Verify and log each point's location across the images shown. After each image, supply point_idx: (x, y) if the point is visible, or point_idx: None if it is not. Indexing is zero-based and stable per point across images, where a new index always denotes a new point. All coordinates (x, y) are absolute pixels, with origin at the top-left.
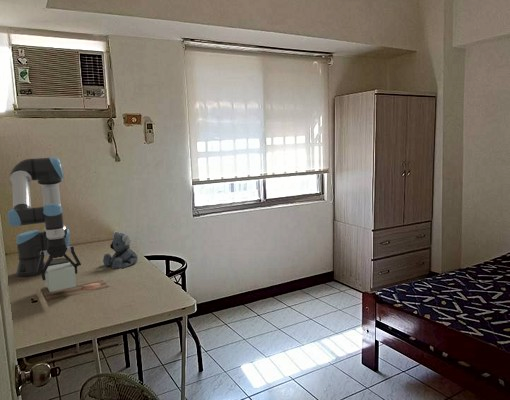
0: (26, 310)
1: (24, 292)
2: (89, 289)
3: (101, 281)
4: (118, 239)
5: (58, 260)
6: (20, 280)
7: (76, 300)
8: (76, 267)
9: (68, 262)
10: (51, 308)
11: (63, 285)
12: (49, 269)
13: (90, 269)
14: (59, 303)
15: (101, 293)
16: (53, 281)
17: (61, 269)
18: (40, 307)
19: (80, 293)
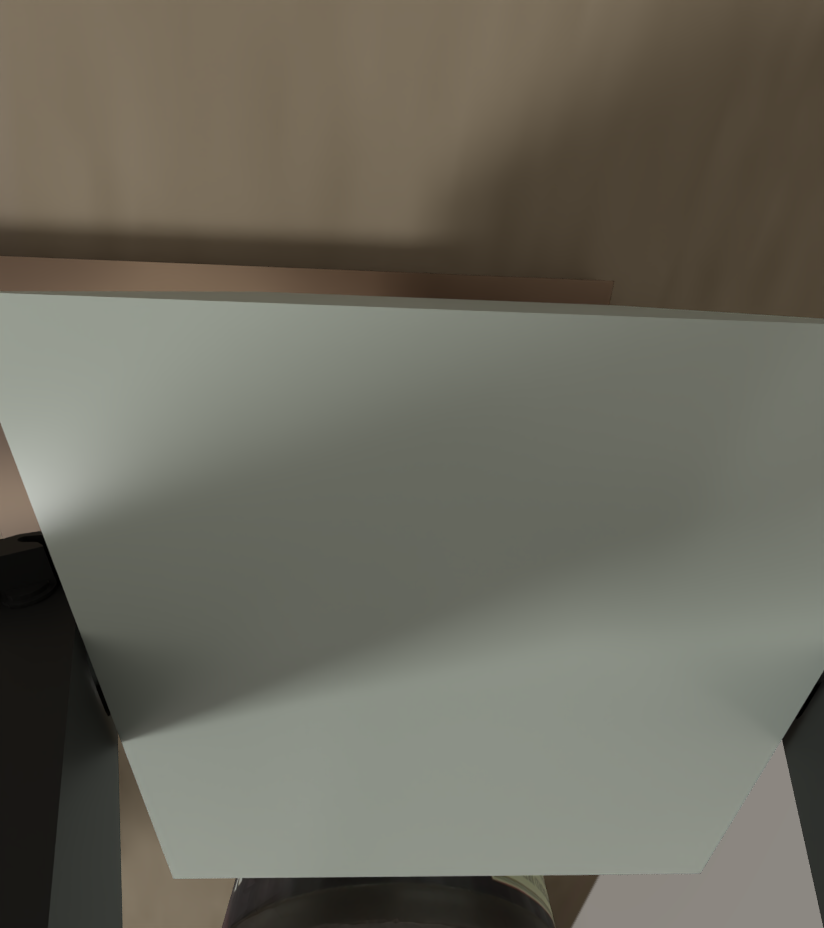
0: (808, 245)
1: None
2: None
3: (19, 520)
4: None
5: None
6: (556, 879)
7: (324, 159)
8: (25, 540)
9: (225, 916)
10: (620, 80)
11: (437, 299)
12: (749, 652)
13: (149, 848)
14: (501, 207)
15: (27, 196)
16: (631, 308)
17: (486, 378)
18: (683, 231)
19: (251, 267)
